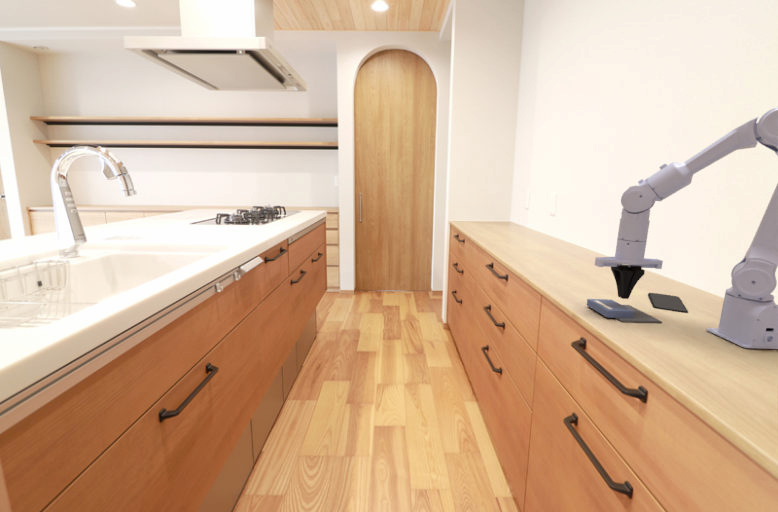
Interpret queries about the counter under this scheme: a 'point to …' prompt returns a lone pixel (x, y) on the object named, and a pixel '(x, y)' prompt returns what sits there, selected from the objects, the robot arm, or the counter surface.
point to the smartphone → (667, 302)
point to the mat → (639, 317)
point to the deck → (610, 308)
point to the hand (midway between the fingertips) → (623, 297)
